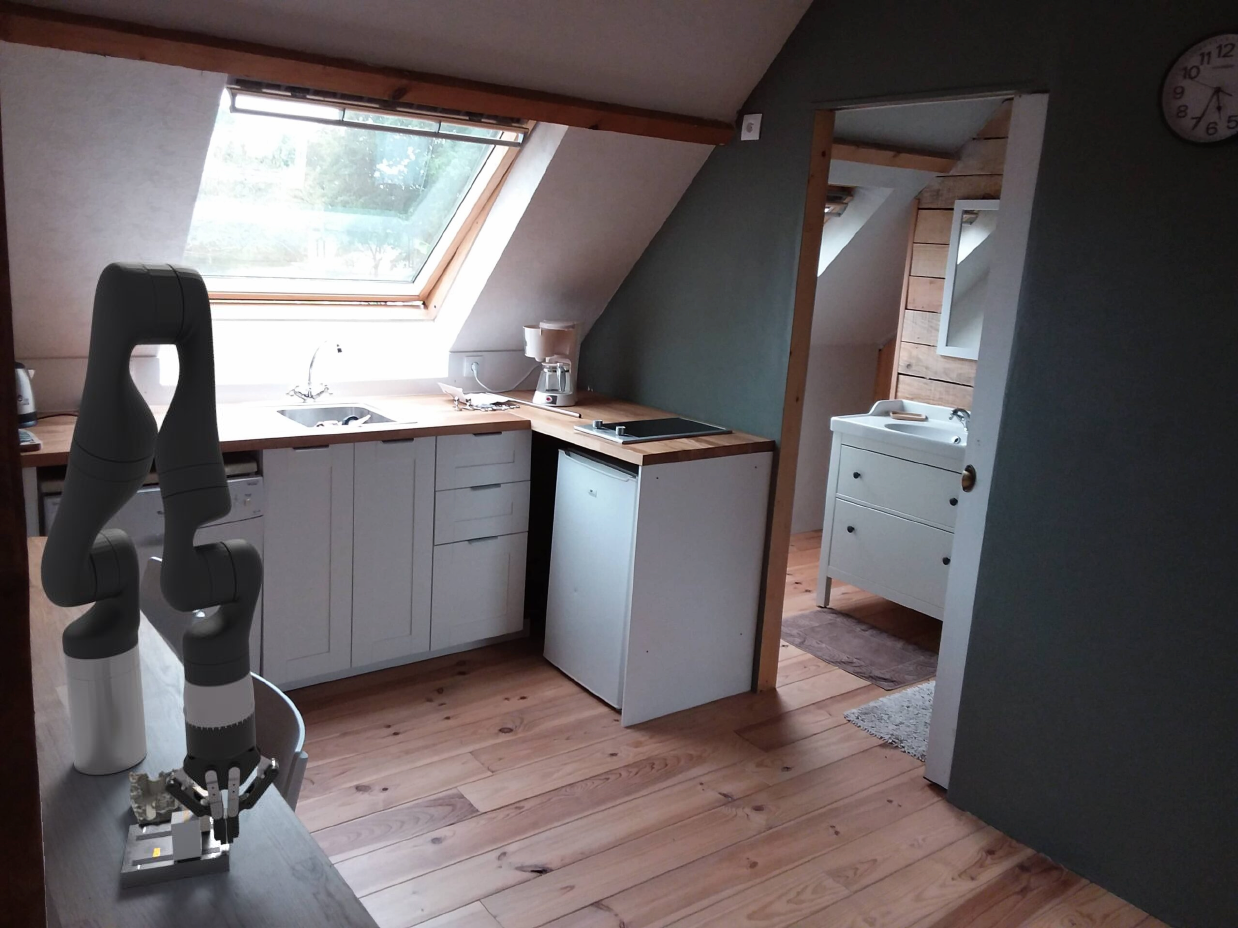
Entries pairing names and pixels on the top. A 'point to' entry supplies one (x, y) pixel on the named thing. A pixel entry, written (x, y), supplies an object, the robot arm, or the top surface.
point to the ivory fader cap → (205, 819)
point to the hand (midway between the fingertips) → (226, 840)
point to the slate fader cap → (186, 835)
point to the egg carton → (153, 797)
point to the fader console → (167, 855)
